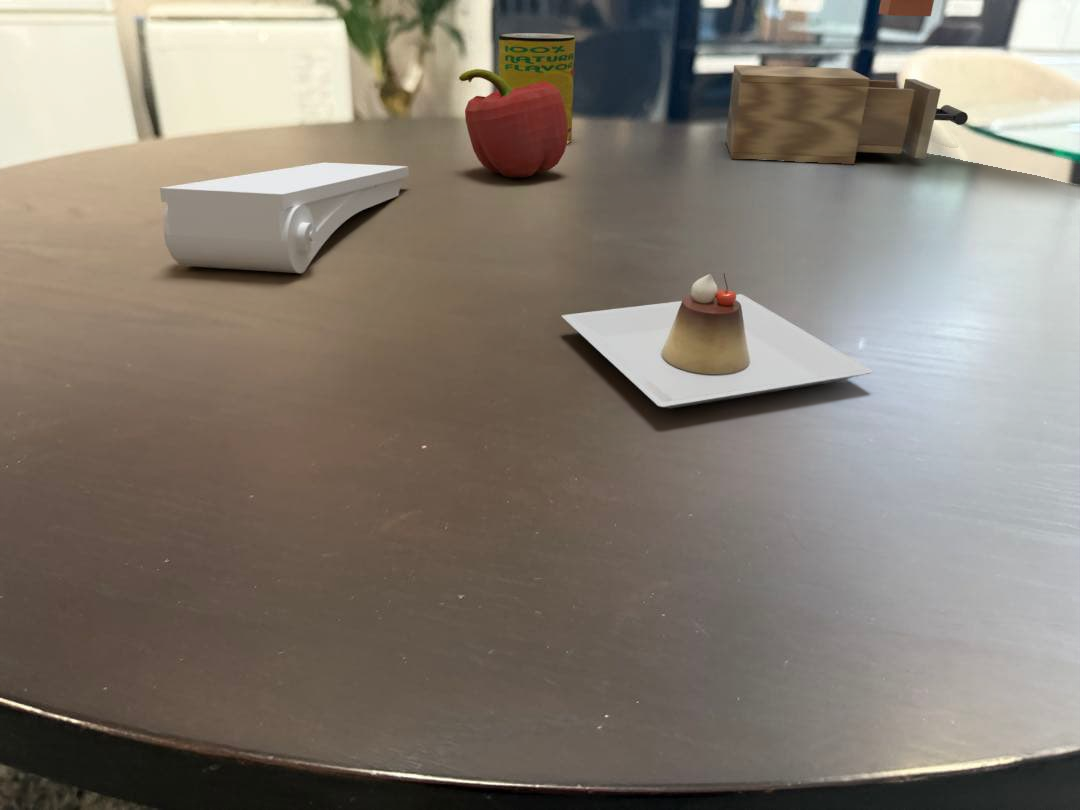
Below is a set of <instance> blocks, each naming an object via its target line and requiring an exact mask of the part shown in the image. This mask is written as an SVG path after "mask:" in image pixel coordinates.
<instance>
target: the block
mask: <svg viewBox="0 0 1080 810" xmlns="http://www.w3.org/2000/svg"><path fill="white" fill-rule="evenodd" d="M934 3H935V0H880V3H879V8H878V15H883V16H894V17H896V16H900V17H931V16H932V12H933V7H934Z"/></svg>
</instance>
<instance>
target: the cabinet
mask: <svg viewBox="0 0 1080 810" xmlns="http://www.w3.org/2000/svg"><path fill="white" fill-rule="evenodd" d="M870 80H871V79H870V78H869V77H867V76H865V75H863V74H861V73H859V72H857V71H854V70H853V69H851V68H847V67H846V68H843V67H839V68H838V67H816V66H815V67H814V66H812V67H811V66H785V65H784V66H782V65H753V64H752V65H750V64H734V65H733V72H732V80H731V89H730V97H729V107H728V115H727V123H726V124H727V125H726V131H725V132H726V133H725V141H726V142H725V141H724V142H725V144H726V143H727V145H726V147H727V146H728V147H727V150H728V149H729V150H728V153H729V152H730V153H729V155H730V156H729V157H730V159H731V158H732V159H731V160H736V159H766V160H784V161H795V162H794V163H805V162H818V163H817V164H827V163H838V164H837V165H850V164H854V165H855V163H856V162H855V161H856V156H857V152H856V151H857V146H858V140H859V135H860V130H861V124H862V119H863V113H864V108H865V103H866V97H867V92H868V86H869V81H870ZM839 163H841V164H839Z"/></svg>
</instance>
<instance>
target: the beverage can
mask: <svg viewBox="0 0 1080 810" xmlns="http://www.w3.org/2000/svg"><path fill="white" fill-rule="evenodd" d="M575 47H576V36H575V35H571V34H563V33H562V34H560V33H544V32H543V33H541V32H540V33H539V32H538V33H537V32H515V33H513V32H512V33H501V34H500V33H499V34H498V76H500V77H501V78H502V79H503V80H504V81H505V82H506V83H507V84H508V85H509V86H510V87H511V88H512V89H514V88H516V87H525V86H528V85H531V84H536V83H539V82H543V81H546V82H548V83H550V84H552V85H554V86H555V87H556V88H557V89H558V91H559V92H560V94H561V96H562V99H563V102H564V106H565V110H566V116H567V122H568V136H567V141H570V140H571V141H572V137H573V135H572V133H573V132H572V131H573V107H574V105H573V104H574V103H573V102H574V79H575V78H574V77H575V76H574V75H575V53H576V52H575V49H576V48H575Z"/></svg>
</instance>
